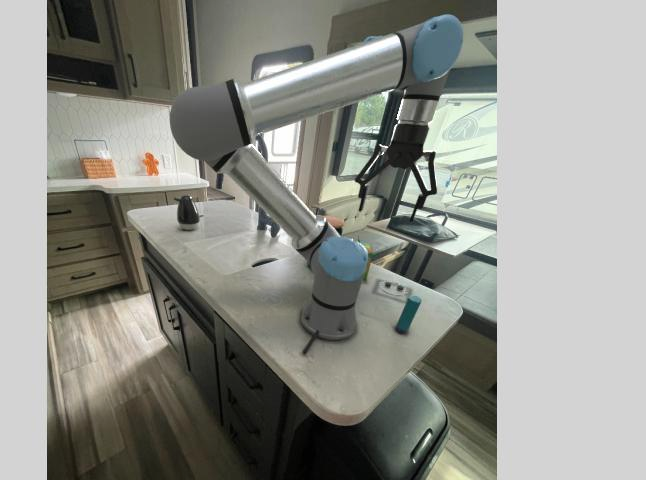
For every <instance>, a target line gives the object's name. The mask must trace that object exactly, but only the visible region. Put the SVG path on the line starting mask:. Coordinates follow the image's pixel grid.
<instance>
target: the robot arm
mask: <svg viewBox="0 0 646 480" xmlns="http://www.w3.org/2000/svg"><path fill="white" fill-rule="evenodd" d="M463 42H464V29H463V26H462V22H461V21H460V20H459V19H458V17H456V16H455V15H453V14H449V13H448V14H441V15H439V16H438V15H437V16H433V17H431V18H427V20H425V21H423V22H420V23H419V24H416V25H413V26H409V27H407V28H404V29H401V30H397V31H396V32H394V33H389V34H387V35H378V36H375V35H374V36H373V35H371V36H368V37H366V38H365V39H364V41H363V42H362V43H359V44H356V45H353V46H350V47H347V48H344V49H341V50H339V51H336V52H332V53H330V54H326V55H324V56H321V57H318V58H315V59H312V60H310V61H306V62H303V63H301V64H297V65H294V66H291V67H289V68H286V69H282V70H279V71H276V72H273V73H271V74H268V75H264V76H262V77H259V78H256V79H253V80H250V81H247V82H244V83H242V82H241V81H239V80H238V79H237V78H236V77H235V78H231V79H228V80H225V81H221V82H218V83H213V84H210V85H201V86H192V87H188V88H186V89H184V90H182V91H180V93H179V94H178V95H176V97H175V98H174V100H173V101H172V105H171V107H170V111H169V128H170V131H171V134H172V137H173V140H174V141H175V143H176V144H177V146H178V147H179V148H180V149H181V151H183V152H184V153H185V154H186V155H187V156H189V157H191V158H192V159H195V160H197V161H201V162H204V163H205V164H207V166H209V168H211V169H212V170H213V171H214V172H215V173H216V174H225V175H227V176H228V177H229V178H230V179H231V180H232V181H233V182H234V183H235V184H236V185H237V186H239V188H240V189H242V191H243V192H244V193H245V194H246V195H247V196H248V197H249V198H250V199H252V201H254V203H255V204H256V205H258V207H259V208H261V209H262V210H263V211H264V213H266V214H267V215H268V216H269V217H270V218H271V219H272V220H273V221H274V222H275V223H276V224H277V226H279V227H280V229H282V230H283V231H284V232H285V233H286V234H287V236H289V237H290V238H291V247H292V248H293V249H294V250H295V251H296V252H297V253H298V254H299V255H300V256H302V258H303V259H304V260H305V261H306V262H307V264H308V263H309V265H310V267H311V268H310V267H309V268H310V270H311V271H312V273H313V275H314V279H313V283H312V290H311V295H310V297H309V299H308V301H307V302H306V304H305V305H304V307H303V309H302V310H301V315H300V317H301V318H300V322H301V325H302V326H303V328H304V329H305V330H306V331H307V332H308V333H310V334H311V335H312V336H311V338H310V339H309V340H308V343H307V344H306V346H305V347H304V348H303V350H302V354H307V353H308V350H309V349H310V347H311V346H312V345H313V343H314V342H315V340H316V338H319V339H322V340H327V341H342V340H345V339H346V340H347V339H348V338H350V337H351V336H352V335H353V334H354V332H355V330H356V326H357V315H356V303H357V299H358V296H359V292H360V290H361V286H362V283H363V281H364V280H363V276H364V273H365V272H366V269H367V262H368V253H367V251H366V249H365V248H364V246H363V245H361V244H360V243H361V242H360V243H359V242H358V240H357V241H356V240H354V239H353V238H349V237H346V236H340V235H339V233H338V232H337V231H336V229H335V228H334V227H332V226H331V225H330V223H329V222H328V221H327V220H326V219H325V218H324V217H323V216H324V215H321V214H318V215H315V214H314V213H313V212H312V211H311V209H310V208H309V207H308V206H307V204H305V202H303V200H302V199H301V198H300V197H299V196H298V194H296V192H295V191H294V190H293V189H292V187H291V186H289V184H288V183H287V182H286V181H285V180H284V179H283V178H282V177H281V176H280V175H279V174H278V172H277V171H276V169H274V167H273V166H272V165H271V164H270V163H269V162H268V161H267V160H266V158H264V157H263V155H262V154H261V153H260V151H258V149H257V148H256V147H255V146H254V142H255V140H256V137H258V136H259V135H263V134H266V133H269V132H272V131H274V130H279V129H280V128H281V129H282V128H284V127H286V126H287V127H288V126H290V125H294V124H296V123H299V122H302V121H305V120H308V119H311V118H313V117H317V116H320V115H323V114H326V113H329V112H332V111H335V110H338V109H341V108H344V107H347V106H350V105H353V104H357V103H359V102H363V101H365V100H368V99H371V98H374V97H378V96H380V95H383V94H387V93H389V92H393V91H396V90H404V92H403V96H402V99H401V103H400V107H399V111H398V114H397V118H396V120H397V121H398V123H396V125H394V128H393V133H392V136H391V139H390V143H389V145H388V146H385V145H382V144H381V143H380V144H377V145H376V146H375V147H374V151H373V154H372V155H371V157H370V158H369V159H368V161H367V162H366V163H365V165H364V166H363V168H361V170H360V172H359V173H358V174H357V175H356V177H355V178H354V182H355V183H357V184H359V191H358V195H357V198H358V199H360V203H359V206H358V212H360V213H361V212H362V211H363V210H364V208H365V203H366V199H367V195H368V191H369V187H370V185H368V184H369V183H370V182H371V181H372V180H373V179H375V178H376V177H377V176H378V175H379V174H380V173H382V172H383V171H385V169H387V167H389V166H391V167H392V168H393V169H398V168H400V169H402V170H407V169H410V170H411V173H412V175H413V177H414V179H415V181H416V183H417V186H418V188H419V190H420V192H421V193H419V194H418V196H417V199H416V201H415V205H414V207H413V210H412V213H411V216H410V219H409V222H410V223H413V222H414V218H415V216H416V214H417V211H418V210H423V208H424V206H425V203H426V200H427V199H428V197H430V196H436V195H437V194H438V183H437V175H436V166H435V159H436V154H437V151H436V150H435V149H433V150H424V147H425V144H426V141H427V138H428V135H429V131H430V129H431V127H430V126H429V124H431V123H432V122H433V119H434V117H435V114H436V111H437V108H438V105H439V102H440V100H441V99H440V98H441V97H442V92H443V90H444V87H445V84H446V81H447V78H448V76H449V73H450V71H451V69H452V68H453V66H454V65H455V63H456V62H457V60H458V58H459V56H460V54H461V51H462V47H463ZM384 153H385V154H386V157H387V160H386V161H384V163H382V164H380V165H379V167H377V169H375V170H374V171H373V172H371V173H370V174H369V175H368V176H367V177H365V175H366V174H367V173H368V171H369V170H370V169H371V168H372V167H373V165H374V164H375V162H376V161H377V160H378V158H379V156H382V155H383V154H384ZM422 157H424V160H425V162H427V169H428V176H429V183H430V184H429V185H430V189H429V188H428V187H427V184H426V182H425V180H424V177H423V175H422V173H421V171H420V169H419V168H420V167H419V166H418V163H417V162H418V161H419V160H420V159H421V158H422ZM364 177H365V178H364ZM309 265H308V266H309Z"/></svg>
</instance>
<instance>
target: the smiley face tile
mask: <svg viewBox="0 0 646 480" xmlns="http://www.w3.org/2000/svg"><path fill="white" fill-rule="evenodd" d="M386 282H389V283H393V284H396V285H398V286H402V287H404V290H406V293H404V294H402V295H401V294H392V293H389V292H387V291H386V290H385V289H383V288H382V286H381V285H382V284H385V283H386ZM378 287H379V288H380V290H381V291H382V292H384V293H386V294H387V295H391V296H394V297H405V296H407V295H408V293H409V290H408V288H407V287H406V286H404V285H402V284H400V283H399V282H396V281H391V280H389V281H388V280H384V281H381V282H380V283H379V284H378Z"/></svg>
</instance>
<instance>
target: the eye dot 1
mask: <svg viewBox="0 0 646 480" xmlns="http://www.w3.org/2000/svg"><path fill="white" fill-rule="evenodd" d="M384 286H385V287H388V288H390V287H392V282H384Z"/></svg>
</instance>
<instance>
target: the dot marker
mask: <svg viewBox="0 0 646 480" xmlns="http://www.w3.org/2000/svg"><path fill="white" fill-rule="evenodd" d="M422 301H423V299H422V297H420V296H417V295H414V294H411V295H409V296H408V297H407V299H406V302H405V304H404V307H403V309H402V311H401V314H400V316H399V317H398V320H397V322H396V327H395V331H396V332H397V333H398V334H402V335H405V334H406V333H407V332H408V331H409V329H410V327H411V325H412V323H413V321H414V318H416V317H415V316H416V315H417V312H418V311H419V308H420V306H421V304H422Z"/></svg>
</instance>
